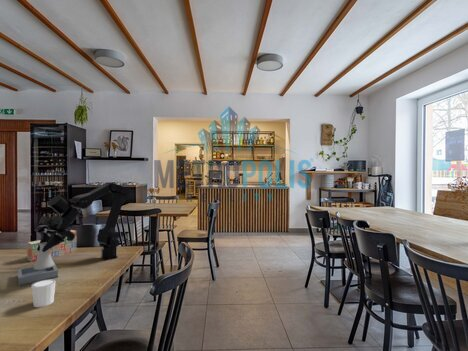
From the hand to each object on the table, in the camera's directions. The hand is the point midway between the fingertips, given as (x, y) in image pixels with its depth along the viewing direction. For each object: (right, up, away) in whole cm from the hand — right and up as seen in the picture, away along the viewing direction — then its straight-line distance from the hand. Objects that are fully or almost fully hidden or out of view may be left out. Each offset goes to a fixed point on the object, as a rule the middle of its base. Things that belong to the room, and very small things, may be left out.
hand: (40, 250), depth 106 cm
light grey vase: (+1, -7, +1) cm, 7 cm away
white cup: (+13, -14, -16) cm, 25 cm away
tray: (-6, -13, +7) cm, 16 cm away
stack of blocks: (-19, -13, +35) cm, 42 cm away
